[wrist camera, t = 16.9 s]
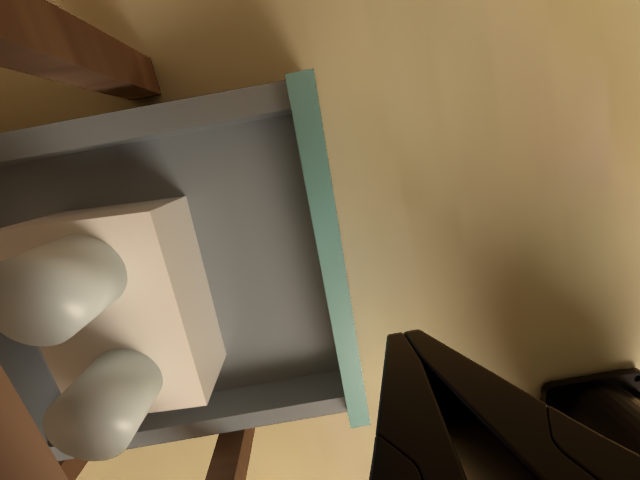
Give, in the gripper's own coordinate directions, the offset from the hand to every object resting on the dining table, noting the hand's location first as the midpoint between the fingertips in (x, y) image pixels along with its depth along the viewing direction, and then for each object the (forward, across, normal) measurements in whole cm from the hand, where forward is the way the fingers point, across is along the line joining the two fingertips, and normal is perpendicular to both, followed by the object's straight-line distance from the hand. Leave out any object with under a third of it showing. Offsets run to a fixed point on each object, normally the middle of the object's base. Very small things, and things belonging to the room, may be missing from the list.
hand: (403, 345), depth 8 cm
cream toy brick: (+8, +11, 0) cm, 13 cm away
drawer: (+9, +10, 0) cm, 13 cm away
